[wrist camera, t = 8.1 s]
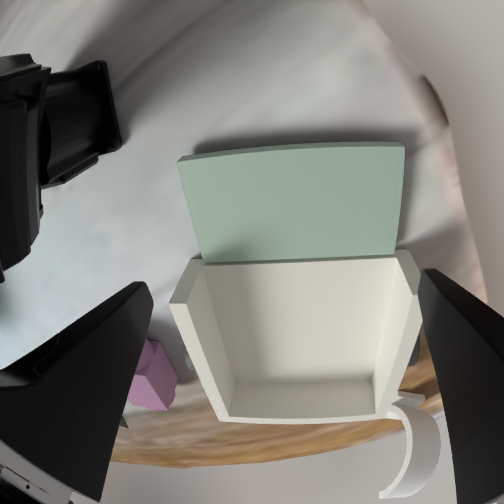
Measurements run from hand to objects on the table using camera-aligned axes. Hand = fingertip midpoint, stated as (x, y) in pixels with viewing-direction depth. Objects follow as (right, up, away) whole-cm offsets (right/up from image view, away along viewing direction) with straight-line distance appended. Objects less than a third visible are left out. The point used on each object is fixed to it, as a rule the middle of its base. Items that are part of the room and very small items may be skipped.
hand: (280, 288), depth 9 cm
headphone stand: (+17, -17, +22) cm, 32 cm away
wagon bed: (+3, -6, +16) cm, 17 cm away
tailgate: (+2, +1, +11) cm, 11 cm away
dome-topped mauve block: (-12, -10, +22) cm, 27 cm away
